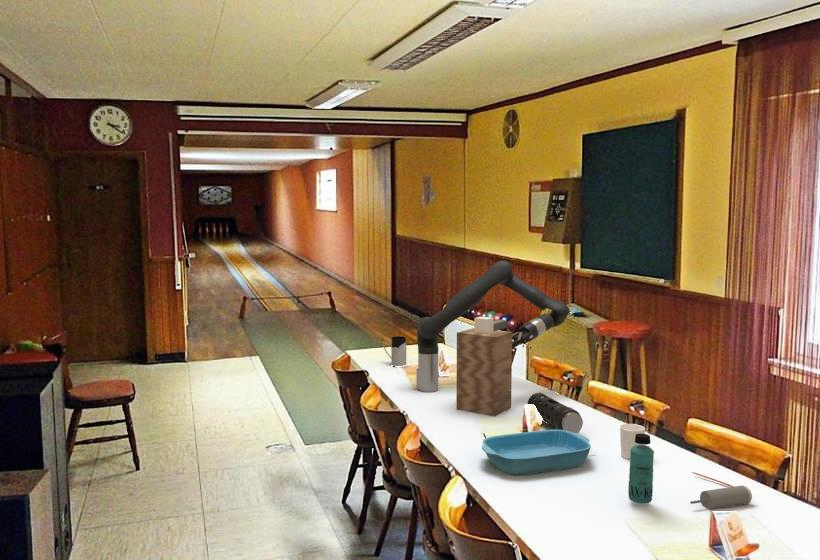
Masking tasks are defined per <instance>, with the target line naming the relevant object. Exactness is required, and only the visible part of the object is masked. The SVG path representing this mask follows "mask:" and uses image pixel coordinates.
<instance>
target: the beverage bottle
mask: <svg viewBox="0 0 820 560" xmlns="http://www.w3.org/2000/svg"><path fill="white" fill-rule="evenodd" d="M635 442H636V443H638V444H643V445H635V446H633V447H632V448H631V449H630V452H631V453H630V459H629V469H628V470H629V473H628V486H627V487H628V488H627V490H628V491H627V493H628V499H629V500H630V501H631V502H633V503H636V504H640V505H641V504H644V505H645V504H651V502H652V500H653V493H654V492H653V490H654V484H653V483H654V459H655V458H654V457H655V452H654V450H653V449H652V448H651V447H650V446H649V445H650V444H651V443H652V442H651V436H650V435H649V434H647V433H645V434H642V433H640V434H636V435H635Z"/></svg>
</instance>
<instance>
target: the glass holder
mask: <svg viewBox="0 0 820 560" xmlns="http://www.w3.org/2000/svg"><path fill="white" fill-rule="evenodd" d="M386 340H388V343H389V347H390V349H391V352H390V353H391V355H390V354H389V353H388V352H387V350H386V347H385V346H386V345H385V342H386ZM382 344H383V349H384V352H385V353H386V355H388V357H389V358H390V360H391V363H390V366H391V365H393V366H403V365H406V364H407V338H406V336H400V335H399V336H392V337H391V339H389V338H384V339H383V342H382Z"/></svg>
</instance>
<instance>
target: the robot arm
mask: <svg viewBox="0 0 820 560" xmlns="http://www.w3.org/2000/svg"><path fill="white" fill-rule="evenodd" d="M498 284H500V285H501V286H504V287H505V288H506V287H507V288H509V289H510V290H512V291H513V292H515V293H516V294H518V295H520V296H521V297H522V298H524V299H525V300H527V301H528V302H529V303H531V304H532V305H533V306H535V307H536V308H537V309H538V310H540V311H545V310H546V309H549V310H551V311H550V312H549V313H542V314H541V315H539V316H537V317H536V318H533V319H530V320H529V321H528V322H526V323H524V324H523V325H521V326H520V327H519V331H517V332H515V333H514V332H512V349H515V348H517V347H518V346H522V345H526V344H527V343H529V342H531V341H534V340H535V339H537V338H538V337H540V336H541V335H543V334H544V333H546V332H547V331H548V330H550V329H552V328H556V327H559V326H560V325H562V324H563V323H564V322H565V321H566V319H567V317H568V316H569V313H570V308H569V306H568V305H567V304H566V303H565V302H564V301H561V300H559V299H556V298H554V297H551V296H549V295H547V294H546V293H545V292H543V291H542V290H541V289H539V288H537V287H535V286H534V285H532V284H529V283H527V282H526V281H524V280H522V279H521V278H520V277H519V276H518V275H517V274H516V273H514V271H513V267H512V263H510V262H509V261H507V260H499V261H496V262H495V263H494V264H493V265H492V266H491V267H490V268H489V269H488V270H487V271H485V272H484V273H483V274H482V275H481V276H480V277H478V278H477V279H475V280H474V281H472V282H471V283H469V284H468V285H467V286H465V287H464V288H462V289H461V290H460V291H459V292H458V293H456V294H455V295H454V296H453V297H452V298H450V300H449V301H448V302H447V303H446V305H445V306H444V307H443V308H442V309H441V310H440V311H438V312H437V313H435V314H434V315H432V316H424V317H422V318H421V319H420V320H419V321H418V323H417V328H416V329H417V330H416V331H417V332H416V333H417V335H416V336H417V337H416V339H417V342H416V343H417V350H418V351H417V354H418V356H417V359H418V361H417V367H418V368H416V380H415V381H416V390H417V389H418V391H420V392H424V393H432V392H433V393H434V392H437V391H439V343H438V342H439V341H438V335H440V333H441V332H443V331H444V330H445V329H446V328H447V327H448V326H449V325H450V324H451V323H453V322H455V321H456V320H457V319H459V318H460V317H462V316H463V315H465V314H466V313H468V312H469V310H472V309H473V308H474V307H476V305H478V304H479V303H480V301H482V299H483V298H484V297H485V296H486V295H487V294H488V293H489V291H490V290H492V289H493V288H494V287H495V286H497V285H498Z"/></svg>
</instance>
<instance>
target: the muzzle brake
mask: <svg viewBox="0 0 820 560" xmlns="http://www.w3.org/2000/svg"><path fill="white" fill-rule="evenodd" d="M527 404H534V405H535V406H536V408H537V410H538V412H539V413H540V415H541V416H542V418H543V420H544V421H545V422H547V423H548V425H549V426H550V425H551V426H550V427H553V428H555V430H565V431H569V432H572V433H577V434H579V433H580V431H581V430H582V428H583V425H584V423H583V421H584V420H583V417H582V416H581V414H580V412H578V411H577V410H575V409H574V408H573V407H571V406H570V407H569V406H567V405H565V404H563V403H561V402H559V401H558V400H556V399H553V398H552V397H549V396H548V395H546V394H544V393H542V392H535V393H533V394H532V395H531V396H529V398H528V400H527ZM544 421H543V422H544ZM545 422H544V423H545ZM547 423H546V424H547Z"/></svg>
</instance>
